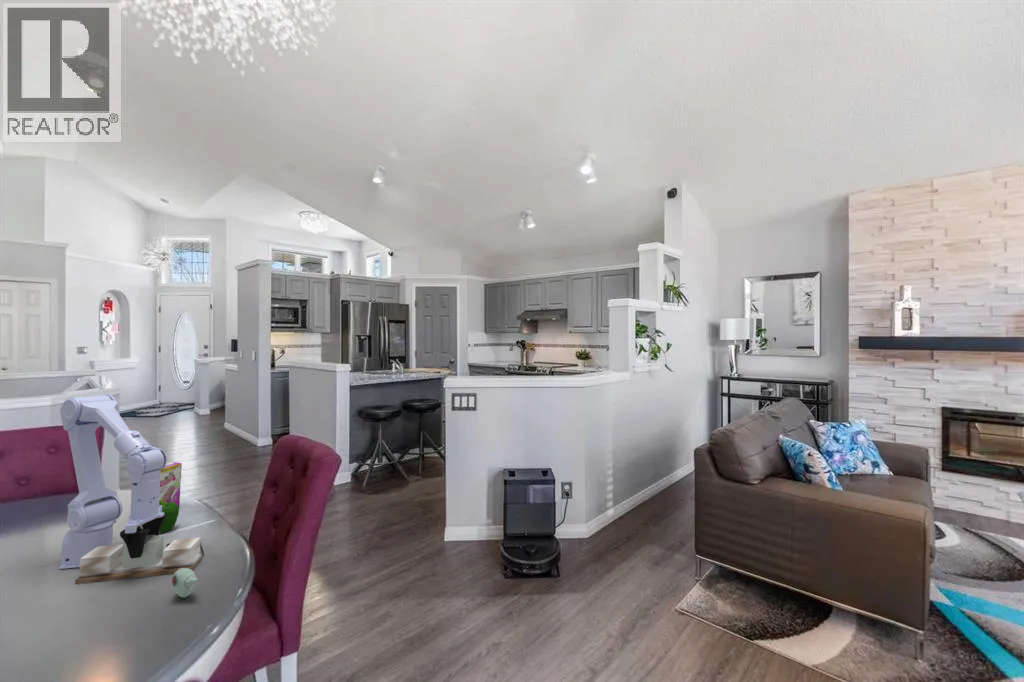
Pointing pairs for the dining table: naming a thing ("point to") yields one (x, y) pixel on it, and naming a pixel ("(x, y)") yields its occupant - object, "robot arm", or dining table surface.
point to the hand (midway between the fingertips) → (143, 550)
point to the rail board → (108, 566)
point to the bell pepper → (169, 515)
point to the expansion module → (145, 553)
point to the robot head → (183, 581)
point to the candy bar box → (170, 483)
